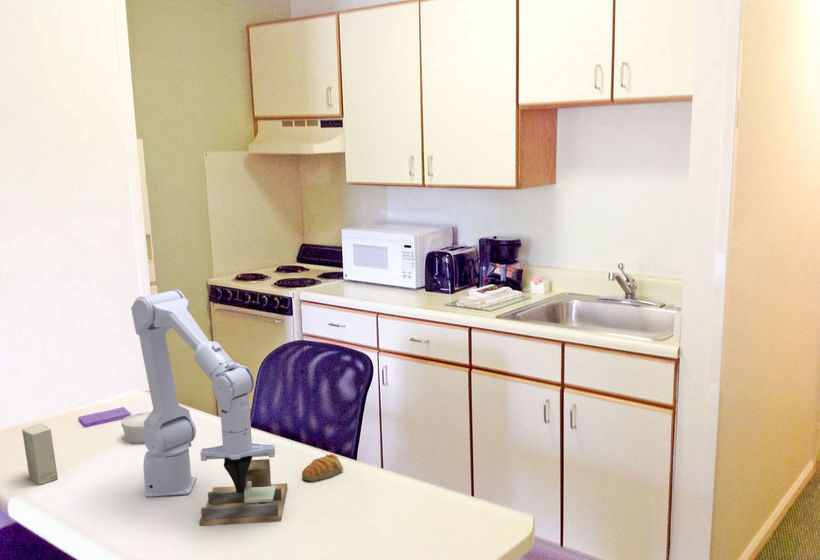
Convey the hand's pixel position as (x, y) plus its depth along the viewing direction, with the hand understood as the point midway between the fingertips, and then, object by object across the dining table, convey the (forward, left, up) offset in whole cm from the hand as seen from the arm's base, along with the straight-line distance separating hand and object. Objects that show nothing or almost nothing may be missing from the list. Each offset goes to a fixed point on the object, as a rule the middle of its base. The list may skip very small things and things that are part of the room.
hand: (240, 491), depth 152 cm
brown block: (+2, +8, -4) cm, 9 cm away
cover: (+4, 0, -1) cm, 4 cm away
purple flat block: (-47, +61, -6) cm, 78 cm away
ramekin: (-32, +46, -5) cm, 56 cm away
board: (0, +3, -5) cm, 6 cm away
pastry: (+16, +17, -5) cm, 24 cm away
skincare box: (-49, +23, -5) cm, 54 cm away
